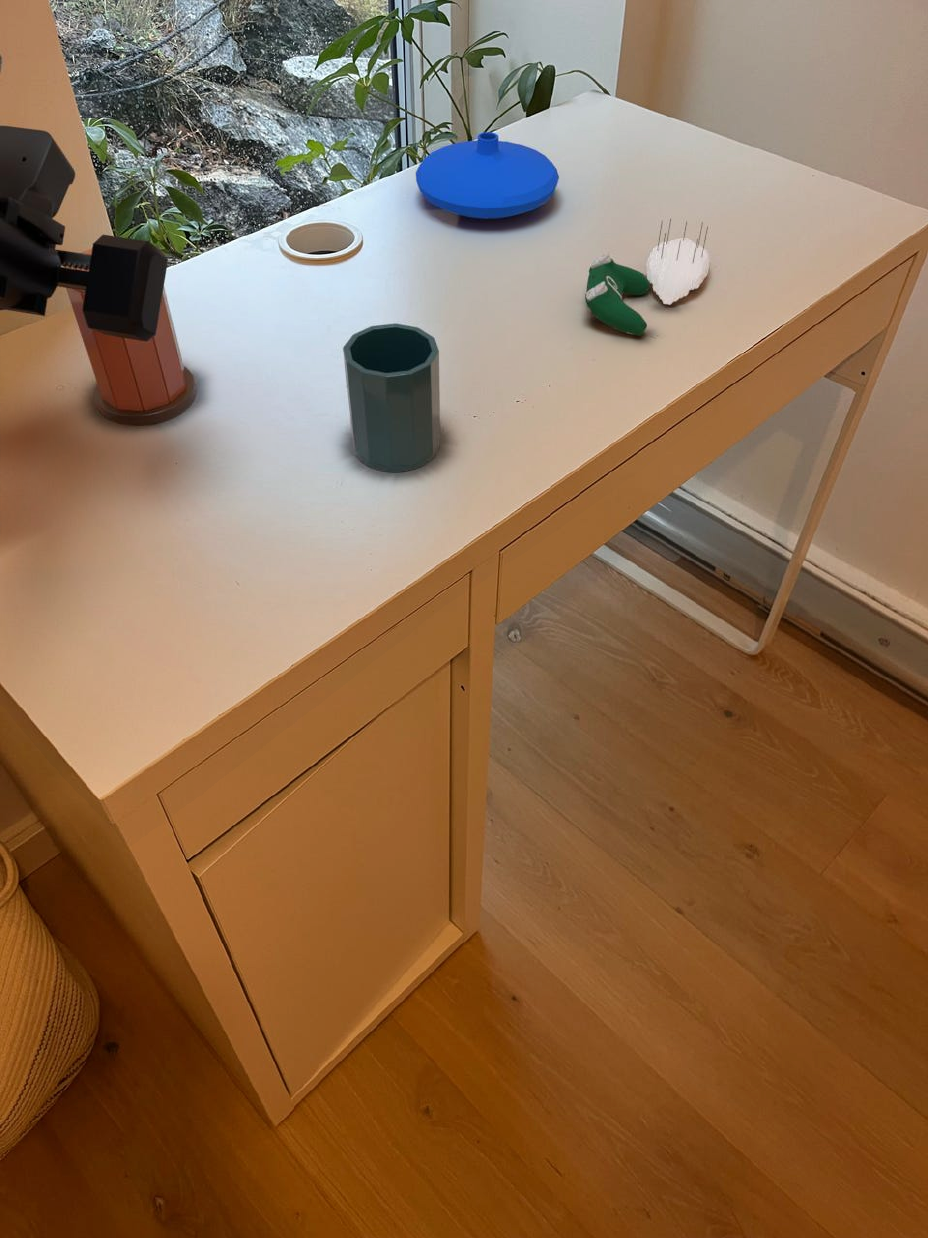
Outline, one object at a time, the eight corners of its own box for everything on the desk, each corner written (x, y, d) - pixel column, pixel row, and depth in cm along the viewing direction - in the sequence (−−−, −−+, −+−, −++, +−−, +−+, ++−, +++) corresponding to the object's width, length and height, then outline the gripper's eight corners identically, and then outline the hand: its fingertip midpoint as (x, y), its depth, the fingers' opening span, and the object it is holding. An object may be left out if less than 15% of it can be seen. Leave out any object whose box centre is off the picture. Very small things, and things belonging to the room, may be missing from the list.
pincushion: (655, 244, 102) (664, 191, 98) (714, 253, 101) (725, 199, 97) (635, 302, 95) (643, 246, 91) (697, 312, 94) (709, 256, 89)
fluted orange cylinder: (100, 416, 80) (60, 294, 72) (103, 367, 85) (66, 247, 77) (187, 406, 81) (156, 285, 73) (185, 358, 86) (156, 239, 78)
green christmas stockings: (622, 303, 98) (584, 261, 95) (653, 281, 96) (614, 236, 93) (617, 354, 92) (576, 310, 89) (650, 332, 90) (608, 286, 87)
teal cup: (359, 477, 77) (350, 380, 70) (348, 424, 82) (338, 329, 75) (446, 466, 78) (445, 369, 71) (430, 414, 83) (428, 319, 76)
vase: (582, 193, 110) (588, 128, 105) (509, 249, 102) (512, 181, 96) (466, 159, 116) (466, 96, 111) (387, 210, 107) (384, 144, 102)
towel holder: (95, 431, 81) (73, 369, 76) (98, 374, 86) (79, 313, 82) (198, 419, 82) (183, 357, 77) (195, 363, 87) (181, 302, 83)
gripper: (116, 119, 57) (228, 216, 72) (-157, 85, 60) (6, 185, 76) (85, 309, 58) (202, 366, 73) (-182, 266, 61) (-16, 329, 76)
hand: (97, 307), depth 75 cm, fingers open, 9 cm apart
